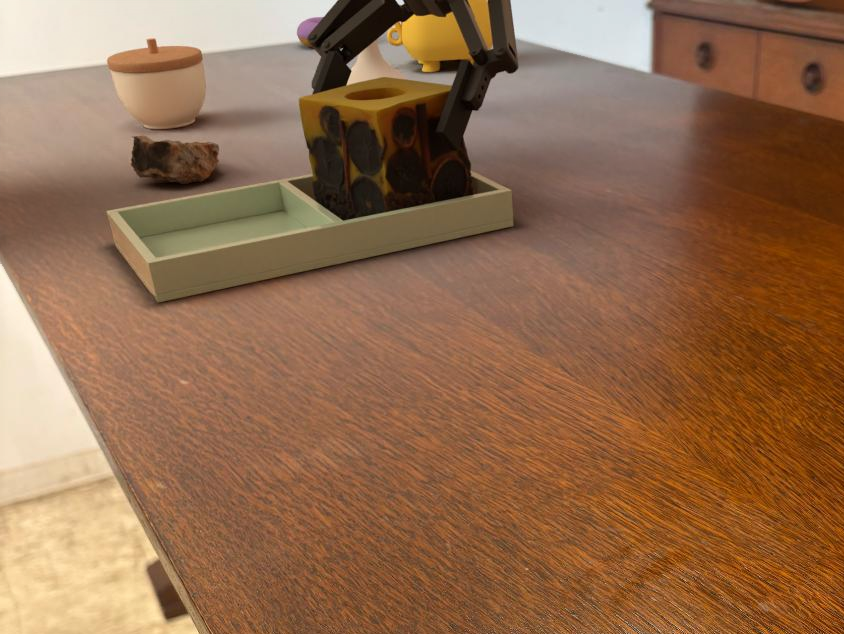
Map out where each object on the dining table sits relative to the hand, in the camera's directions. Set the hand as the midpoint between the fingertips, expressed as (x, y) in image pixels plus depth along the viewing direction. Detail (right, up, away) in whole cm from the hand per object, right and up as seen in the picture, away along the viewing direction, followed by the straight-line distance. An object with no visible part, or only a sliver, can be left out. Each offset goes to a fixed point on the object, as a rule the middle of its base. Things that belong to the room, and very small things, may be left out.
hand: (378, 135), depth 91 cm
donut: (-20, +45, +82) cm, 96 cm away
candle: (+1, -5, +4) cm, 7 cm away
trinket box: (-31, +16, +40) cm, 53 cm away
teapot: (+2, +34, +65) cm, 73 cm away
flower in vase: (-7, +16, +39) cm, 43 cm away
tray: (-6, -8, +2) cm, 10 cm away
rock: (-23, +3, +20) cm, 31 cm away
